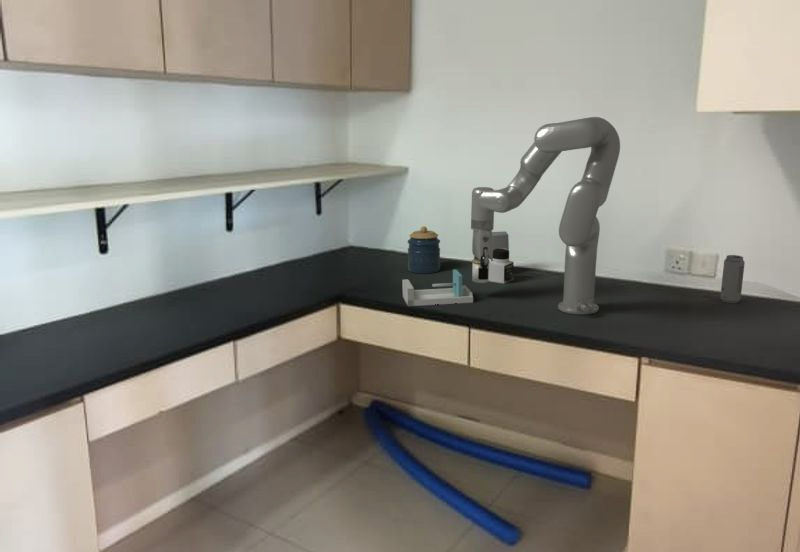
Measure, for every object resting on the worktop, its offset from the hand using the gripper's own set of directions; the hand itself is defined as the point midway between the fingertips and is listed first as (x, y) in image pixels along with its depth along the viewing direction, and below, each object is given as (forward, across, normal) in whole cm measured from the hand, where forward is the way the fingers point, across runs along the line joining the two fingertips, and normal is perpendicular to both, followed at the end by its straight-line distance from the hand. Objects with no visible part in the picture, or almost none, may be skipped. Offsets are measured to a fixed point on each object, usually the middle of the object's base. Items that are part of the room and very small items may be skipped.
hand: (480, 276), depth 234 cm
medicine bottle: (+8, +20, -13) cm, 25 cm away
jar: (+2, 0, 0) cm, 2 cm away
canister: (+8, +42, +12) cm, 44 cm away
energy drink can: (+6, -21, -79) cm, 82 cm away
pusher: (+6, 0, +12) cm, 14 cm away
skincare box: (+8, +32, -16) cm, 36 cm away
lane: (+8, 0, +15) cm, 17 cm away
